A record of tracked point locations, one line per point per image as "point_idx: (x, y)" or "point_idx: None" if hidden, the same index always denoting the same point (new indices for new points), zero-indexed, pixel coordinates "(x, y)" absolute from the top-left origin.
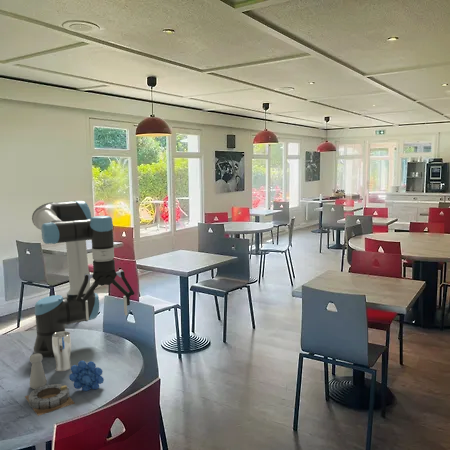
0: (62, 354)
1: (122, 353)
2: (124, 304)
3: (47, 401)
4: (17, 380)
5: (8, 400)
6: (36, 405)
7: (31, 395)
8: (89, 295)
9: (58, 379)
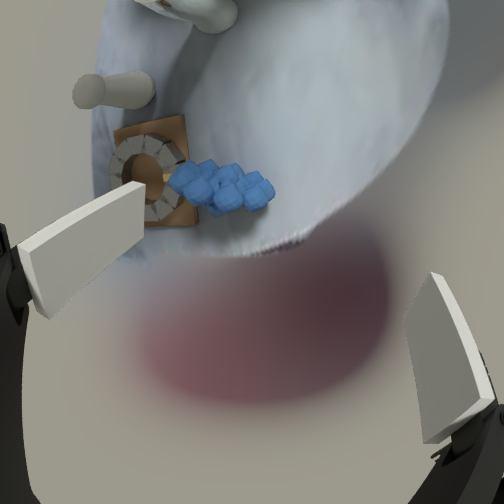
0: (184, 19)
1: (408, 9)
2: (431, 365)
3: None
4: (118, 31)
5: (96, 117)
6: None
7: (113, 170)
8: (18, 377)
9: (191, 59)
